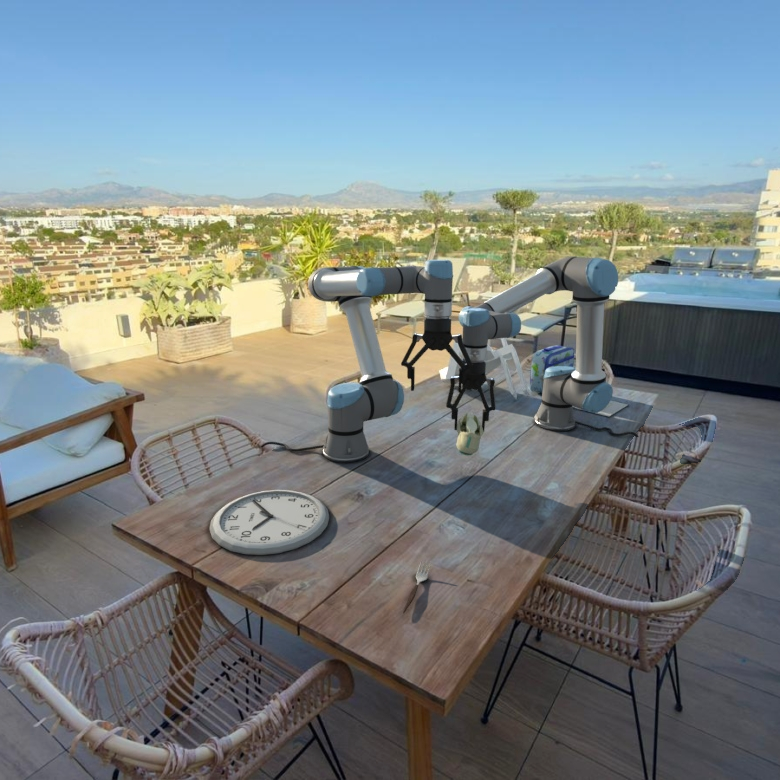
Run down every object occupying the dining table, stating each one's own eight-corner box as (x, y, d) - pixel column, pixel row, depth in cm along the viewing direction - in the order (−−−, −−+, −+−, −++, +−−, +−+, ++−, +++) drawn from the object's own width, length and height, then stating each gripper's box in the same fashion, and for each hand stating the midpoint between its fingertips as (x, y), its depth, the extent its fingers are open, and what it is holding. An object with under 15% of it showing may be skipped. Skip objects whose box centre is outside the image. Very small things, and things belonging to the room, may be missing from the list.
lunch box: (546, 398, 236) (551, 353, 229) (525, 393, 243) (529, 349, 237) (573, 387, 253) (579, 344, 247) (553, 382, 260) (558, 341, 254)
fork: (396, 613, 103) (397, 605, 102) (420, 566, 117) (420, 559, 117) (409, 617, 102) (409, 608, 102) (431, 569, 116) (432, 561, 116)
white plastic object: (461, 429, 252) (437, 405, 227) (444, 352, 274) (420, 323, 250) (535, 404, 240) (518, 377, 215) (510, 326, 262) (492, 293, 237)
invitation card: (608, 416, 214) (573, 407, 224) (608, 416, 214) (573, 408, 224) (628, 404, 229) (594, 396, 238) (628, 405, 229) (594, 397, 238)
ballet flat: (481, 426, 170) (483, 403, 167) (485, 458, 146) (487, 431, 144) (455, 425, 171) (457, 402, 168) (455, 456, 147) (457, 430, 145)
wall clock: (327, 546, 121) (194, 551, 119) (327, 552, 122) (195, 557, 119) (330, 485, 150) (223, 488, 147) (330, 490, 150) (224, 493, 148)
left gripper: (391, 318, 143) (391, 392, 149) (483, 319, 140) (480, 395, 146) (395, 314, 151) (395, 385, 156) (482, 315, 147) (479, 388, 153)
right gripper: (439, 361, 157) (436, 431, 164) (509, 364, 155) (503, 435, 161) (439, 355, 164) (436, 423, 171) (507, 358, 162) (501, 426, 169)
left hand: (436, 390), depth 151 cm, fingers open, 13 cm apart
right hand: (469, 429), depth 166 cm, fingers closed on ballet flat, 8 cm apart
